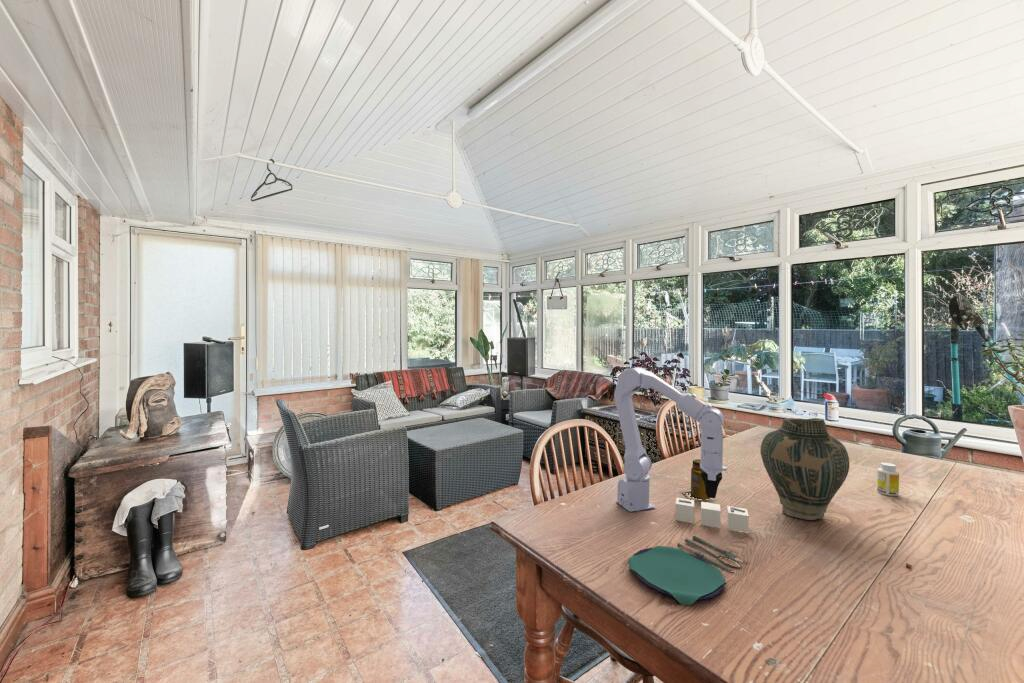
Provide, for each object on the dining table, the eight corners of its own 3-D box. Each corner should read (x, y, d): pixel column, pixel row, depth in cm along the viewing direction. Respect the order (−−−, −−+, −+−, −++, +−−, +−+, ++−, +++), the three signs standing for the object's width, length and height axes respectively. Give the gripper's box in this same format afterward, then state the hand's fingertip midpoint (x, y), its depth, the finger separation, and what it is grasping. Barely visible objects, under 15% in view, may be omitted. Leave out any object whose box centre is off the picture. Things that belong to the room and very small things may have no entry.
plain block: (720, 528, 117) (720, 511, 117) (701, 525, 119) (701, 508, 119) (719, 521, 122) (719, 504, 122) (701, 518, 124) (701, 501, 124)
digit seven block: (748, 533, 114) (748, 515, 114) (728, 530, 116) (728, 511, 116) (746, 526, 119) (746, 508, 119) (727, 522, 121) (727, 505, 121)
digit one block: (693, 523, 120) (693, 505, 120) (675, 520, 122) (675, 502, 122) (694, 516, 125) (694, 499, 125) (676, 513, 127) (676, 496, 127)
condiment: (716, 500, 137) (716, 464, 137) (692, 501, 136) (692, 465, 136) (702, 491, 144) (703, 457, 144) (680, 492, 143) (680, 458, 143)
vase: (866, 535, 113) (869, 427, 113) (776, 527, 118) (778, 422, 117) (823, 503, 135) (825, 411, 134) (748, 497, 140) (750, 408, 139)
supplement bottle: (900, 494, 143) (900, 464, 143) (897, 498, 140) (897, 468, 139) (878, 489, 147) (879, 460, 147) (875, 493, 144) (876, 463, 144)
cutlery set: (611, 569, 97) (611, 559, 97) (688, 537, 113) (689, 529, 113) (688, 620, 80) (688, 608, 80) (765, 574, 97) (765, 564, 97)
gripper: (728, 459, 112) (727, 509, 112) (725, 446, 125) (725, 490, 125) (699, 456, 115) (699, 504, 115) (700, 443, 128) (699, 486, 128)
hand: (710, 497), depth 120 cm, fingers closed
